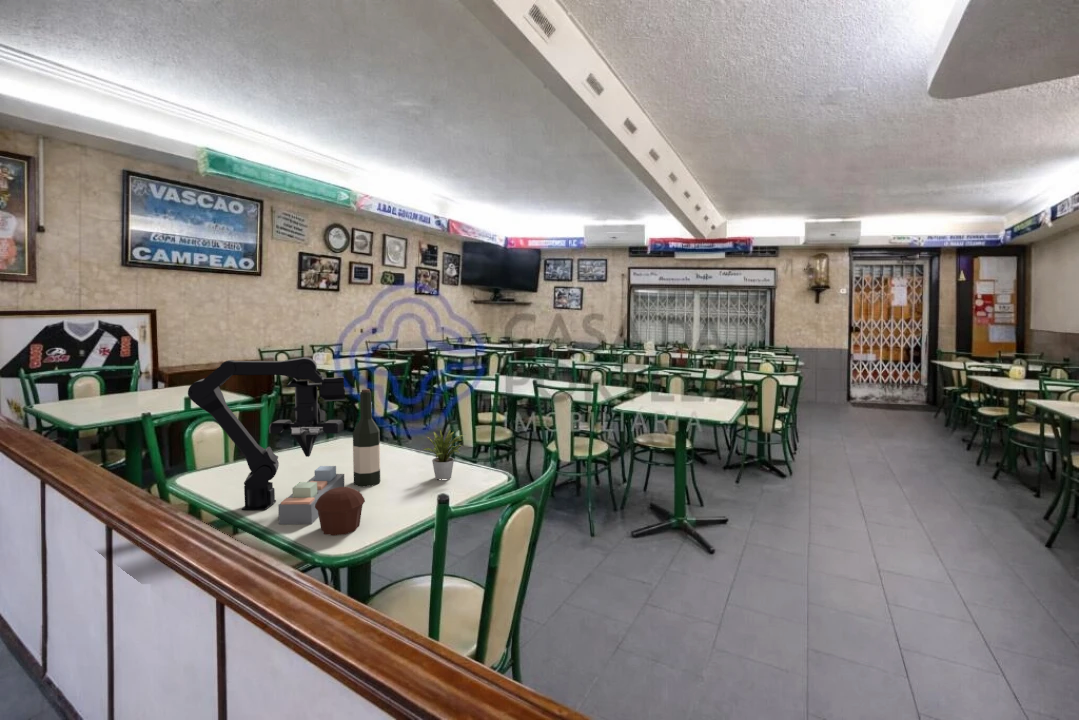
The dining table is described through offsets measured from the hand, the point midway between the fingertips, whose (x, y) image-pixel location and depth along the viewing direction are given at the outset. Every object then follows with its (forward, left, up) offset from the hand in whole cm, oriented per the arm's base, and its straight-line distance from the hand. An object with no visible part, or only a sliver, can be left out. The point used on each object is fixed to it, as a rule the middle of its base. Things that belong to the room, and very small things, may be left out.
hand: (308, 456), depth 146 cm
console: (+3, -4, -13) cm, 14 cm away
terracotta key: (+3, -2, -11) cm, 11 cm away
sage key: (+3, -10, -9) cm, 13 cm away
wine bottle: (+12, +16, -13) cm, 24 cm away
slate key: (+3, +5, -9) cm, 10 cm away
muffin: (+15, -19, -13) cm, 28 cm away
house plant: (+36, +19, -13) cm, 43 cm away
